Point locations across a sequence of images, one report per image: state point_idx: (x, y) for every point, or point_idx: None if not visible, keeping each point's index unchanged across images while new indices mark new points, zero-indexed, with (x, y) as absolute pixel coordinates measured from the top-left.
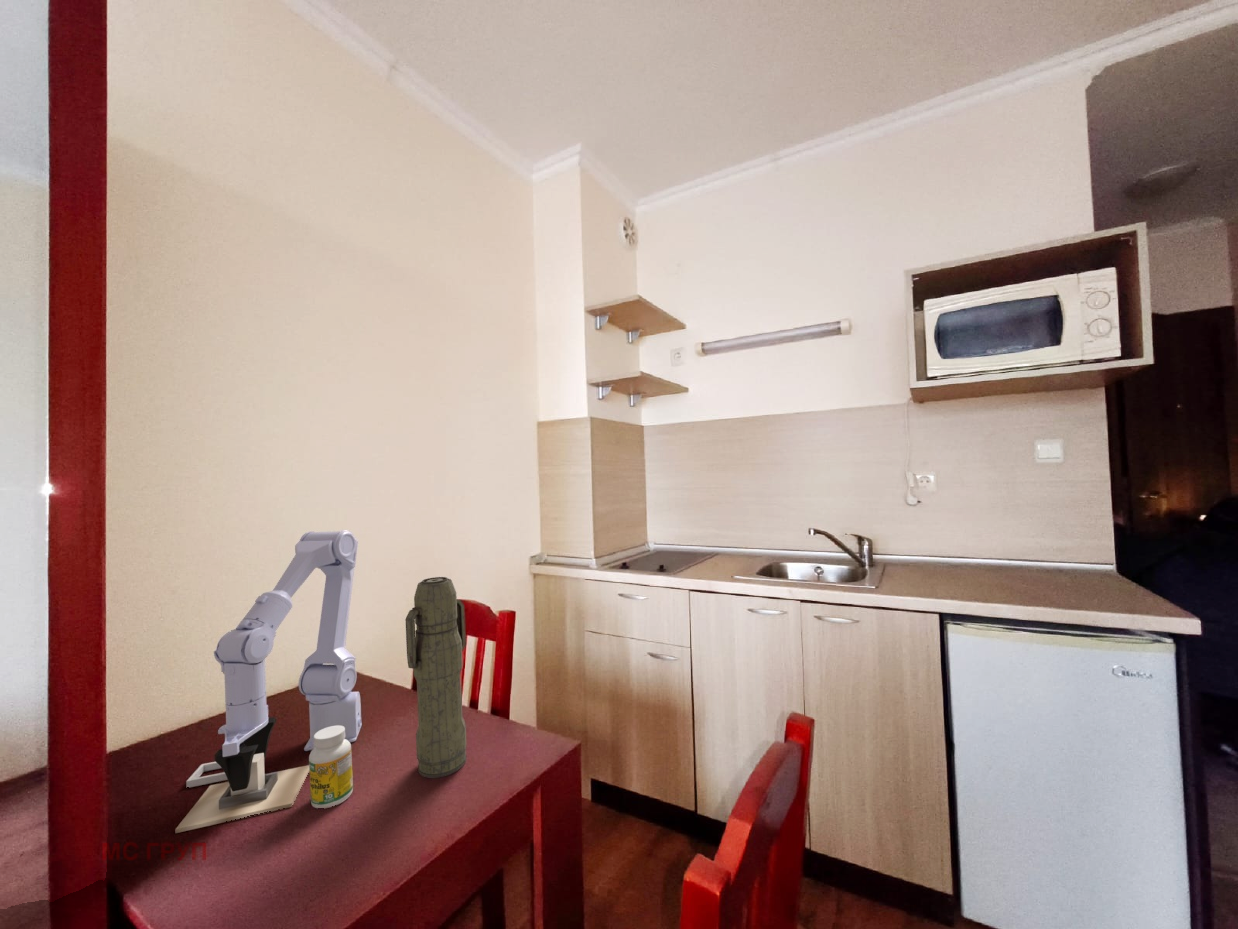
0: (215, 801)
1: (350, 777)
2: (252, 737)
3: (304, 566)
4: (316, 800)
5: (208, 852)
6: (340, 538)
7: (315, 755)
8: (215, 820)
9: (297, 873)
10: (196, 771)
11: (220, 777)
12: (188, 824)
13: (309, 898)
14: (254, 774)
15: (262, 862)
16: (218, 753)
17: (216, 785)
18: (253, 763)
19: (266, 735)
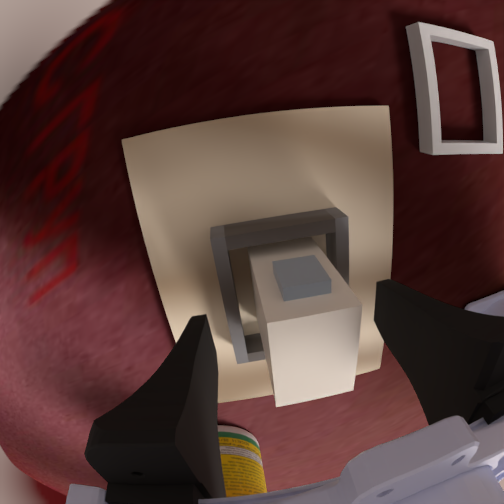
0: (270, 183)
1: None
2: (443, 367)
3: None
4: None
5: (46, 297)
6: None
7: None
8: (148, 252)
9: (39, 437)
10: (464, 36)
11: (425, 121)
12: (140, 169)
13: (17, 447)
14: (267, 362)
15: (43, 400)
16: (118, 457)
17: (381, 129)
18: (274, 394)
19: (427, 406)
